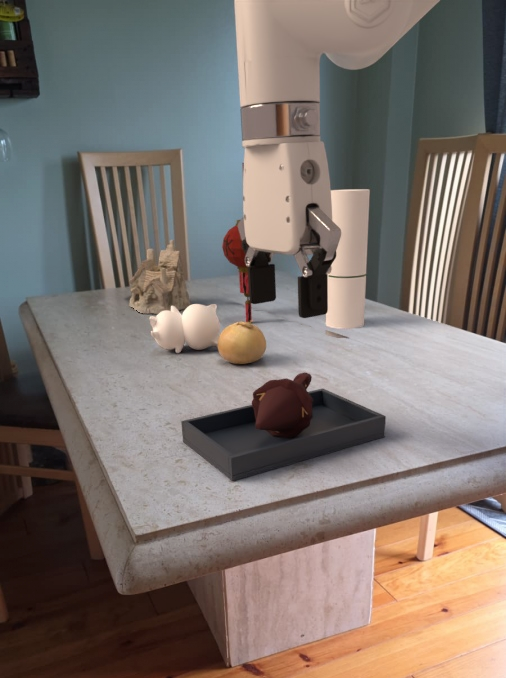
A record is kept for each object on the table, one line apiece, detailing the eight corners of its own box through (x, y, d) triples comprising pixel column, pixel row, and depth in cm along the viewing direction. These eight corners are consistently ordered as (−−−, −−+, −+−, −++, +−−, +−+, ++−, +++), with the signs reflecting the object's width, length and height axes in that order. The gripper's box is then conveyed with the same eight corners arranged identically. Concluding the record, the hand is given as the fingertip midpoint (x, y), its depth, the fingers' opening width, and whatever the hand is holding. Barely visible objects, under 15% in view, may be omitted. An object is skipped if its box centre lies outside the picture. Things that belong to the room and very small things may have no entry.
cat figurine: (146, 298, 105) (217, 292, 106) (152, 320, 115) (216, 314, 116) (152, 348, 104) (223, 341, 105) (157, 366, 114) (222, 359, 115)
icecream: (299, 408, 62) (339, 377, 75) (233, 383, 64) (283, 357, 77) (281, 468, 65) (323, 428, 78) (219, 442, 67) (270, 407, 80)
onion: (211, 367, 100) (209, 323, 97) (226, 353, 107) (224, 312, 104) (259, 369, 98) (258, 324, 95) (271, 355, 105) (271, 313, 102)
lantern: (241, 330, 122) (234, 162, 110) (217, 322, 130) (208, 164, 117) (280, 323, 127) (278, 161, 114) (255, 315, 134) (250, 162, 122)
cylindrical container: (355, 327, 122) (360, 189, 111) (369, 335, 115) (376, 189, 105) (320, 330, 120) (322, 190, 110) (332, 339, 114) (336, 191, 104)
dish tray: (384, 437, 72) (386, 416, 71) (232, 481, 63) (231, 458, 62) (322, 406, 82) (322, 388, 81) (182, 441, 73) (180, 421, 72)
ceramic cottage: (147, 297, 156) (140, 235, 149) (203, 304, 149) (199, 239, 142) (108, 314, 144) (98, 247, 137) (167, 322, 137) (161, 252, 130)
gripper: (370, 119, 54) (366, 316, 61) (267, 134, 68) (273, 293, 75) (299, 120, 51) (303, 328, 58) (205, 136, 64) (218, 302, 72)
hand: (286, 308), depth 66 cm, fingers open, 9 cm apart
